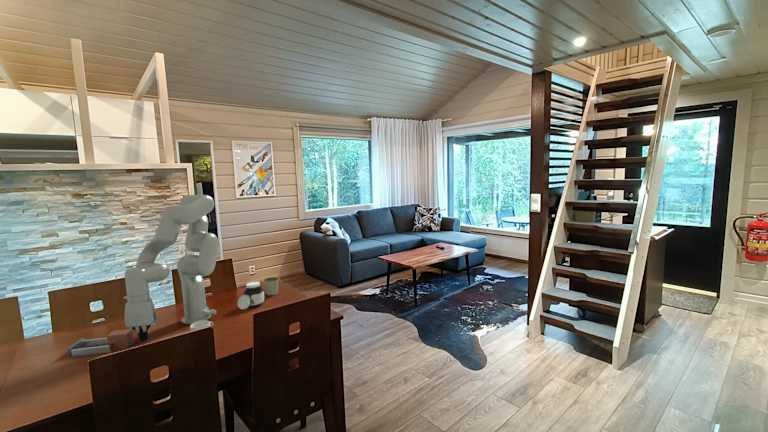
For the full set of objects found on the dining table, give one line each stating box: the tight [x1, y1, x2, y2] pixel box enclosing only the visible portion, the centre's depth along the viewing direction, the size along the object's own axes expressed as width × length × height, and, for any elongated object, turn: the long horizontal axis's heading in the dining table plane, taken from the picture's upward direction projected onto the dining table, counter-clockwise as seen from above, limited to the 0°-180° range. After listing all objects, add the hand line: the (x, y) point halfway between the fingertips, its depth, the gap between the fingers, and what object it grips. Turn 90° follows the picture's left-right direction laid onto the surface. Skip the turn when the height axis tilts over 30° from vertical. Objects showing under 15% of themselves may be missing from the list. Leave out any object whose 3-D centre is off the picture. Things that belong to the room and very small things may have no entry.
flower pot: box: [262, 276, 281, 297], centre depth 206 cm, size 9×9×9 cm
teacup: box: [189, 320, 214, 332], centre depth 155 cm, size 10×8×5 cm
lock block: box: [106, 328, 135, 351], centre depth 147 cm, size 7×5×6 cm
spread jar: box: [237, 281, 265, 310], centre depth 187 cm, size 12×11×12 cm
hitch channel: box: [67, 337, 112, 358], centre depth 145 cm, size 14×9×4 cm
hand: (143, 340), depth 149 cm, fingers closed
